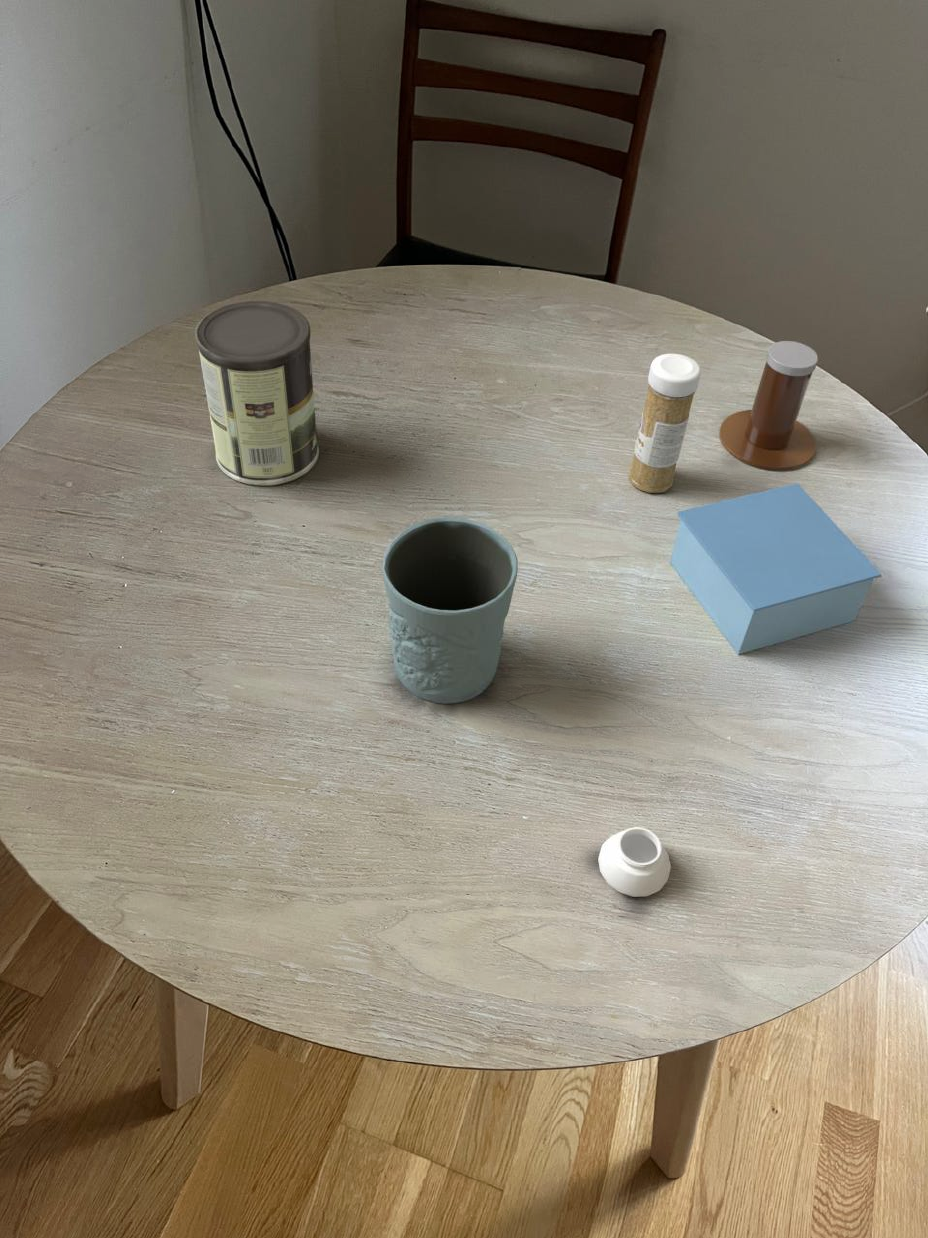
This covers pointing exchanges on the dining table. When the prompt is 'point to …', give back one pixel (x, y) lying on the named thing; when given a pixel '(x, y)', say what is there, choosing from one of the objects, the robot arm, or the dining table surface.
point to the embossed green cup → (448, 606)
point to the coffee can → (259, 391)
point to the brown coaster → (778, 460)
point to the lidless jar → (634, 862)
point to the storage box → (770, 567)
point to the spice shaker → (780, 394)
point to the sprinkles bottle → (663, 421)
